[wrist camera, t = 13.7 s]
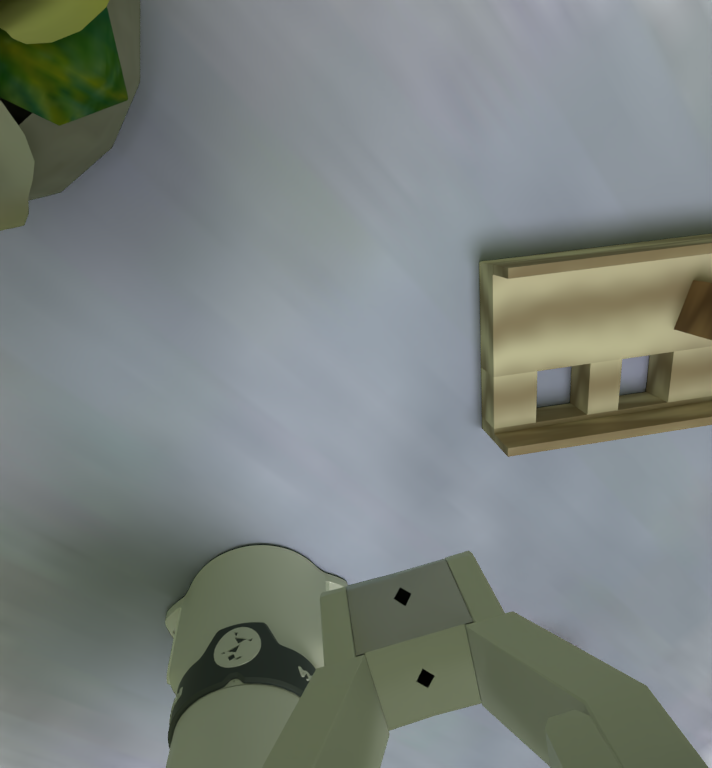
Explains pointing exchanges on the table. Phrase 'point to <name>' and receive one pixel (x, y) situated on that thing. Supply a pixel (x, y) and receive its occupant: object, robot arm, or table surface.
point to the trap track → (593, 343)
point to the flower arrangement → (61, 92)
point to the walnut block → (697, 311)
